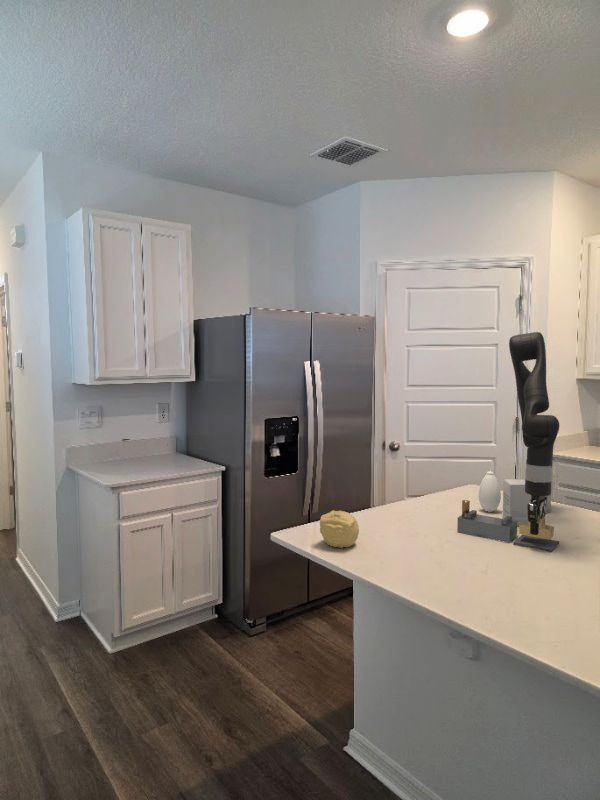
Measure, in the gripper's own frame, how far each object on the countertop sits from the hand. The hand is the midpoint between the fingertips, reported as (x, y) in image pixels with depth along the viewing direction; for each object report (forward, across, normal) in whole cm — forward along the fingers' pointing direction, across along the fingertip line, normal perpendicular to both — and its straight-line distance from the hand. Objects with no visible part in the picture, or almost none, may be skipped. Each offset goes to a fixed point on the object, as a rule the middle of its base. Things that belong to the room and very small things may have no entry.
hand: (536, 532), depth 166 cm
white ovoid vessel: (+4, -28, -24) cm, 37 cm away
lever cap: (+1, 0, 0) cm, 1 cm away
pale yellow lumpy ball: (+4, +39, -48) cm, 62 cm away
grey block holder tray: (+4, 0, -15) cm, 16 cm away
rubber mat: (+4, 0, 0) cm, 4 cm away
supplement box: (+4, -20, -11) cm, 23 cm away
